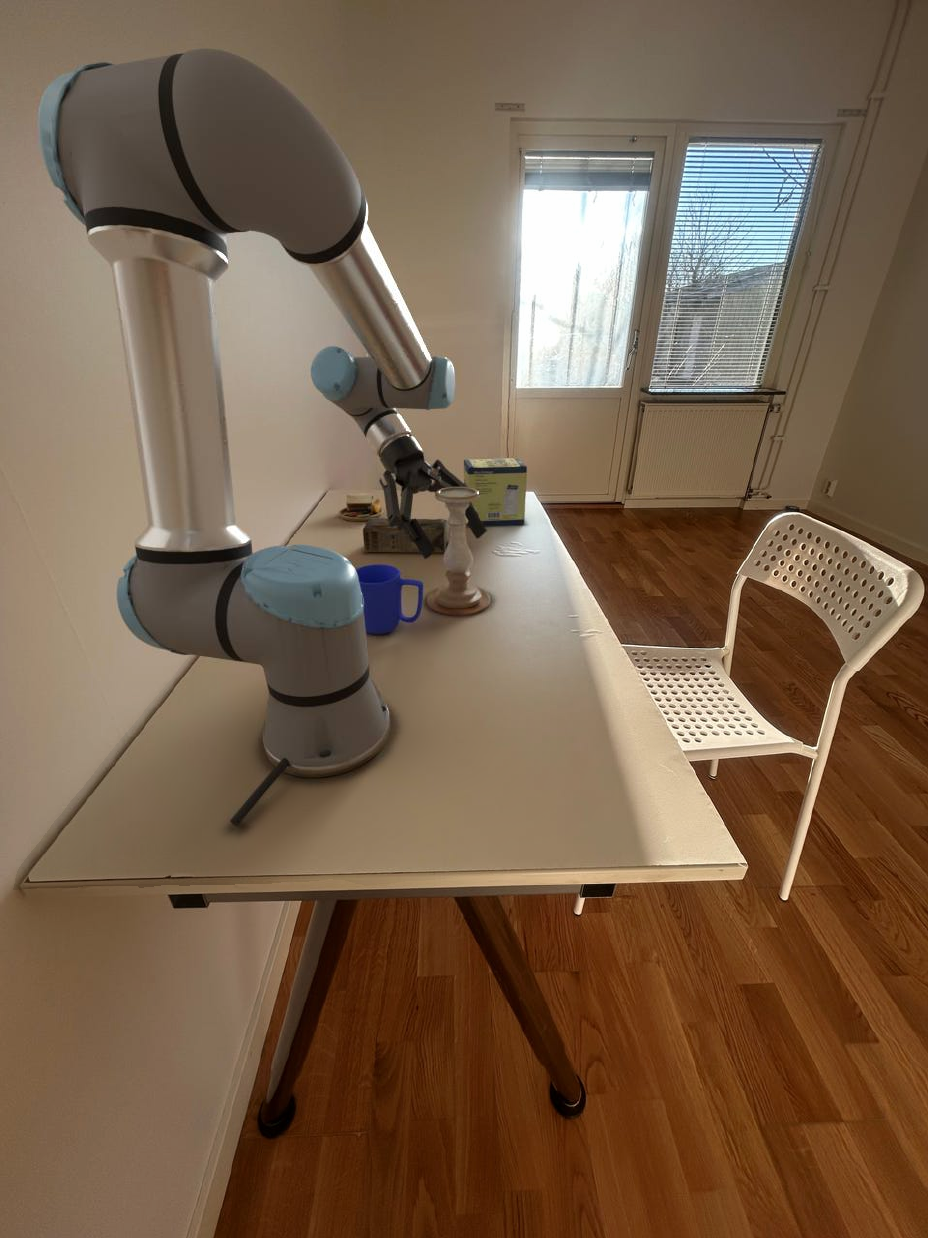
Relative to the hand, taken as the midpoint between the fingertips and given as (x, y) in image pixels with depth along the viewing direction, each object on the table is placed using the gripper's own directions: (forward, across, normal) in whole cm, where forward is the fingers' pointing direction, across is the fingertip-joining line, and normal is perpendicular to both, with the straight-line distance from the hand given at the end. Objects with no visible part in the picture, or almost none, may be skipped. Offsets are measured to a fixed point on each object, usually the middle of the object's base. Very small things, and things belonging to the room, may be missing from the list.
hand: (457, 544), depth 92 cm
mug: (+7, +16, -9) cm, 19 cm away
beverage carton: (-12, -13, -28) cm, 33 cm away
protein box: (-11, -43, -27) cm, 52 cm away
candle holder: (+8, 0, -8) cm, 11 cm away
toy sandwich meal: (-33, -22, -49) cm, 63 cm away
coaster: (+8, 0, -8) cm, 11 cm away
